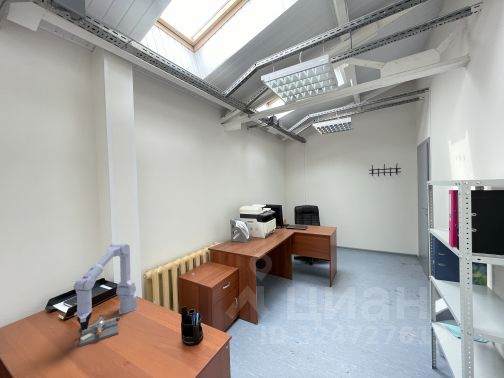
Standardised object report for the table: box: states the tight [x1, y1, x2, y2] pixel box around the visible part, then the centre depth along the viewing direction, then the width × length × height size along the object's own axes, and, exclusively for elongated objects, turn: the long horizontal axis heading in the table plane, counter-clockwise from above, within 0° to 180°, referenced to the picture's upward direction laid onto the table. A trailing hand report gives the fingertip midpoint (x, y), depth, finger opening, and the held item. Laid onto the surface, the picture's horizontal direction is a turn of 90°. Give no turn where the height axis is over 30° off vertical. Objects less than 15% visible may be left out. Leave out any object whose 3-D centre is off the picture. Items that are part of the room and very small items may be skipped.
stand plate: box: [78, 316, 119, 348], centre depth 115 cm, size 16×16×1 cm
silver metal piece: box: [77, 314, 121, 336], centre depth 115 cm, size 18×18×4 cm
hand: (84, 329), depth 107 cm, fingers closed
